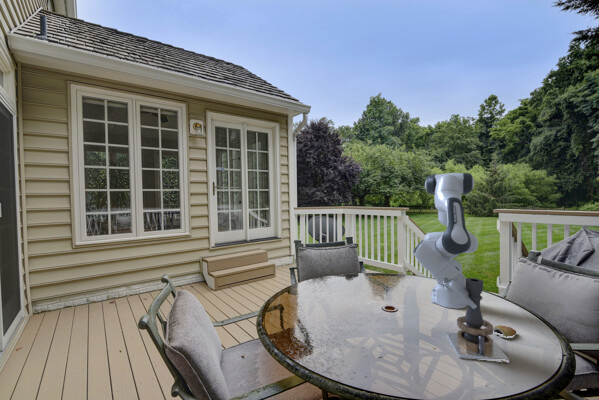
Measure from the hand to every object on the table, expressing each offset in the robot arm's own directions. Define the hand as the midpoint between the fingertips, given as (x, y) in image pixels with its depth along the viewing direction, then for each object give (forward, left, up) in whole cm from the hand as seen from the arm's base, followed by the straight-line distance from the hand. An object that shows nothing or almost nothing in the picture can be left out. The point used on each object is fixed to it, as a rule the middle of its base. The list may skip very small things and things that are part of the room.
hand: (476, 305), depth 104 cm
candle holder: (0, -1, -16) cm, 16 cm away
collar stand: (0, -1, -17) cm, 17 cm away
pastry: (-14, +15, -17) cm, 27 cm away
